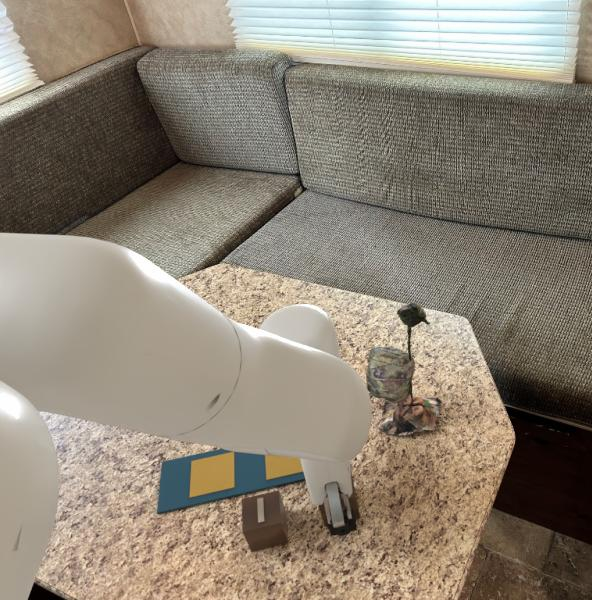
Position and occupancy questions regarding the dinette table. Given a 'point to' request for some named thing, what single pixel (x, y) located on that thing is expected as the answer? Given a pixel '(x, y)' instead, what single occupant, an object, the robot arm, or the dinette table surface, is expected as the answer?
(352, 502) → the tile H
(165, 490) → the word mat
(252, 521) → the tile
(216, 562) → the dinette table surface
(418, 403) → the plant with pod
